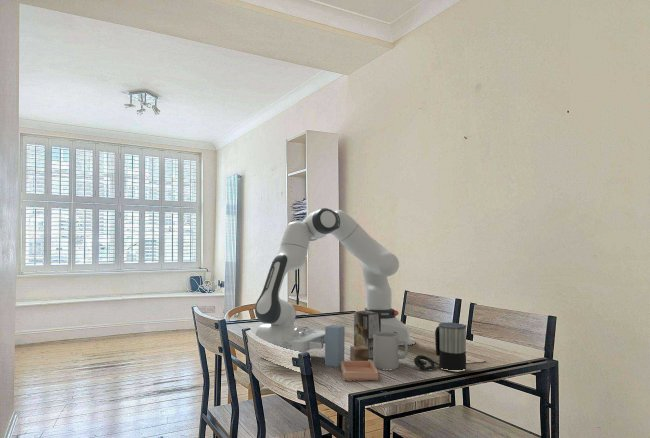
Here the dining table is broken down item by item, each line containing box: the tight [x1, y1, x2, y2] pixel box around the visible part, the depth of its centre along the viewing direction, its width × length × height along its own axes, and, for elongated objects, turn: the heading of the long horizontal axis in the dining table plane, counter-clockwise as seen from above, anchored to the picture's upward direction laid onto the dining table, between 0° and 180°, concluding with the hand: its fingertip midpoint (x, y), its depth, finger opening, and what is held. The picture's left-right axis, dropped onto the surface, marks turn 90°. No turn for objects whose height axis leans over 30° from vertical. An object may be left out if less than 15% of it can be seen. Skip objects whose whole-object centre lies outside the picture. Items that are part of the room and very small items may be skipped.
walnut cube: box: [349, 345, 369, 361], centre depth 159 cm, size 5×5×5 cm
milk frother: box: [413, 321, 468, 371], centre depth 151 cm, size 14×16×15 cm
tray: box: [340, 360, 379, 382], centre depth 143 cm, size 11×14×2 cm
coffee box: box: [353, 310, 381, 359], centre depth 168 cm, size 9×6×16 cm
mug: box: [372, 332, 409, 371], centre depth 152 cm, size 12×8×11 cm
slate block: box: [324, 324, 346, 368], centre depth 155 cm, size 5×5×13 cm
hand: (328, 343), depth 156 cm, fingers open, 8 cm apart
